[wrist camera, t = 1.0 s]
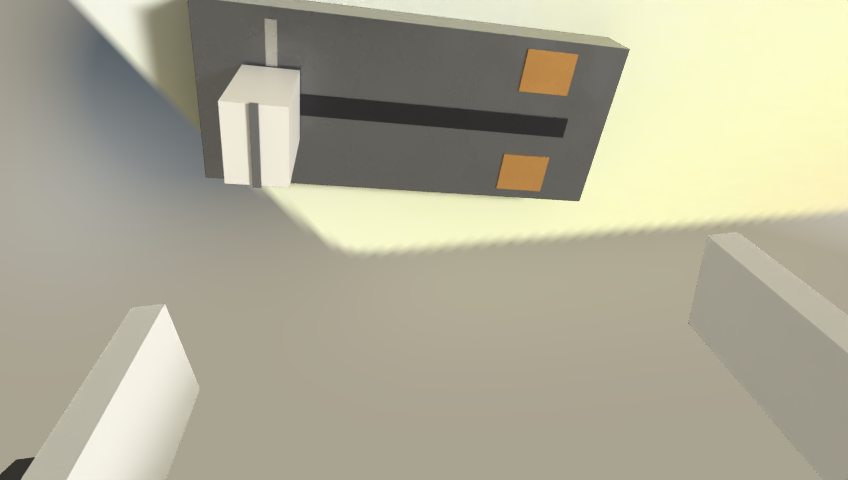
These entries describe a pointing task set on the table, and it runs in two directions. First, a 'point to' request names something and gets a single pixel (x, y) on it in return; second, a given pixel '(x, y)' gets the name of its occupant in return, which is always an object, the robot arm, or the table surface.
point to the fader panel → (416, 96)
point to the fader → (260, 126)
